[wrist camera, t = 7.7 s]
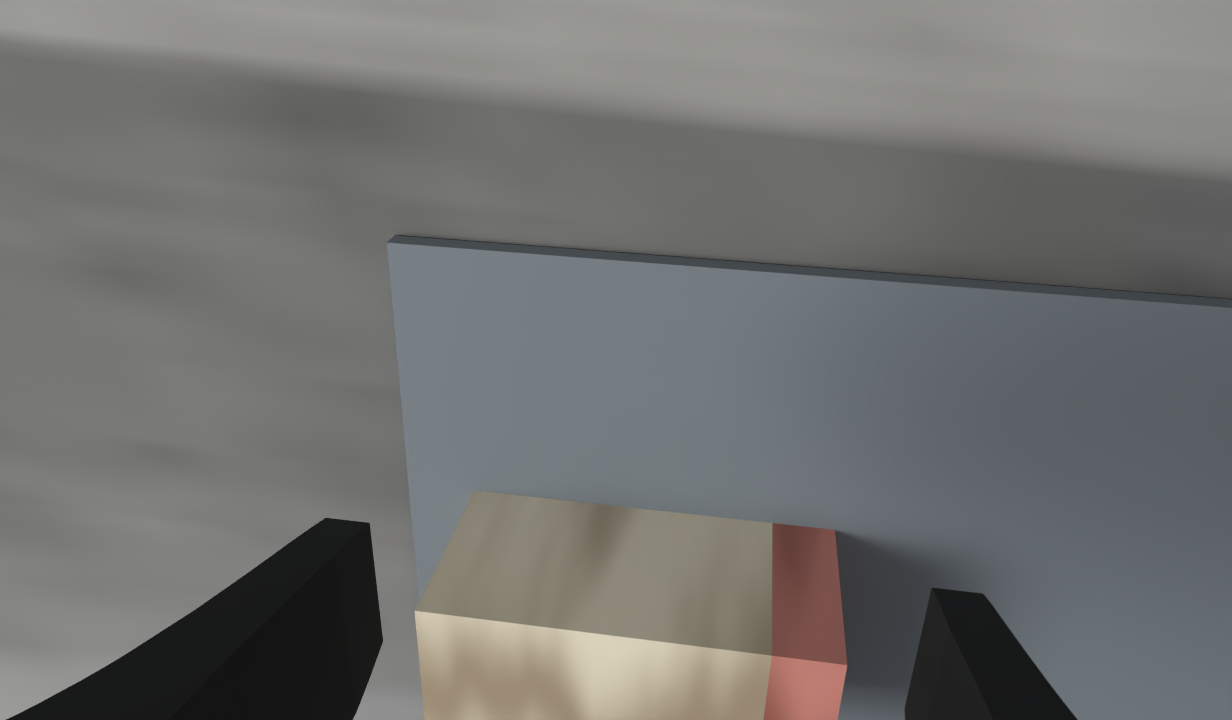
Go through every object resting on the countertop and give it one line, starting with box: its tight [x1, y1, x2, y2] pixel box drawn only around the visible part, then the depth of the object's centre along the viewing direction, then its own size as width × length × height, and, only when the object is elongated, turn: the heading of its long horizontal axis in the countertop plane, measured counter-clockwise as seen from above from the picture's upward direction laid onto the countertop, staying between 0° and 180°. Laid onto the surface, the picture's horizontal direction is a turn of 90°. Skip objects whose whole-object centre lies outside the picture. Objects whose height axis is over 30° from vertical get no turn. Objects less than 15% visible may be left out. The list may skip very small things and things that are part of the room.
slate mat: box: [387, 235, 1232, 720], centre depth 24 cm, size 16×24×1 cm, turn 89°
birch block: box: [415, 491, 847, 720], centre depth 23 cm, size 5×4×9 cm
